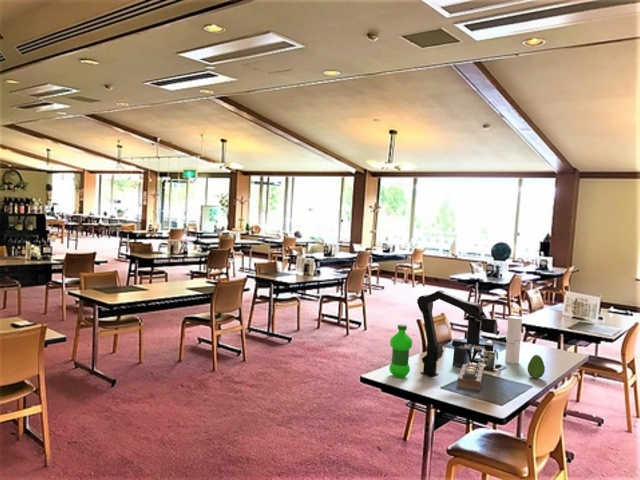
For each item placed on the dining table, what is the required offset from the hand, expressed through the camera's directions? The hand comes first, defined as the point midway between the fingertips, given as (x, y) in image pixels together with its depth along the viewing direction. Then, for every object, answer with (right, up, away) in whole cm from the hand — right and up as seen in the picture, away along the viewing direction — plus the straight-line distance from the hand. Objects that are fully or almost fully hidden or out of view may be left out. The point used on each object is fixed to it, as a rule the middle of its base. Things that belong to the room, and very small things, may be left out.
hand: (471, 362), depth 246 cm
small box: (+4, -9, +30) cm, 32 cm away
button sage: (-1, -5, -2) cm, 5 cm away
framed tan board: (+1, -10, +6) cm, 12 cm away
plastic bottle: (-33, -8, +6) cm, 35 cm away
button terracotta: (+1, -5, +6) cm, 8 cm away
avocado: (+37, -11, +15) cm, 41 cm away
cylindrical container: (+35, -10, +43) cm, 57 cm away
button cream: (+4, -5, +13) cm, 15 cm away
